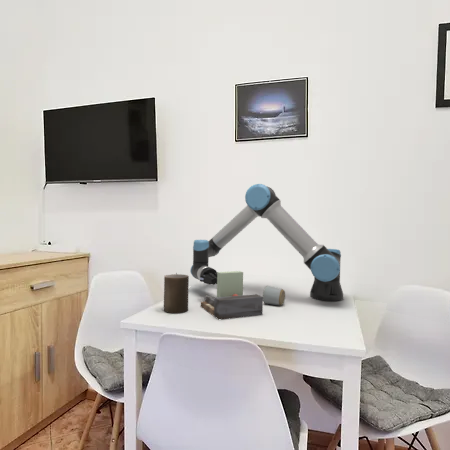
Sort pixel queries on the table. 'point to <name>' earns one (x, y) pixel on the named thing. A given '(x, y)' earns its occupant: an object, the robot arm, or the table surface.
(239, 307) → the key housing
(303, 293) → the table surface
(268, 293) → the grey cylinder
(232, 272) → the sage green upright block
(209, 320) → the table surface
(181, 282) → the pillar candle
